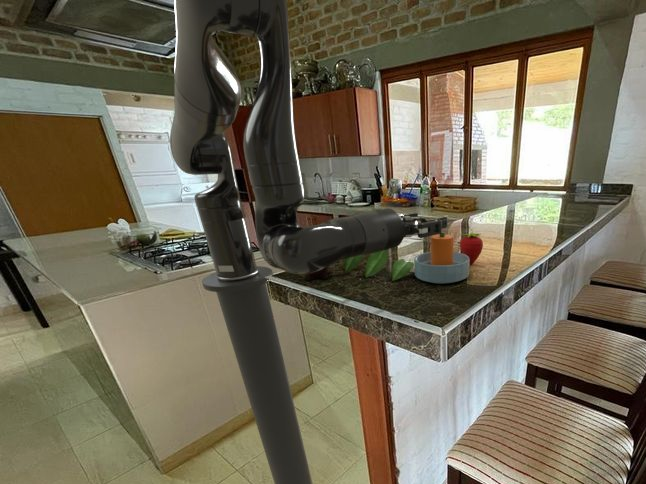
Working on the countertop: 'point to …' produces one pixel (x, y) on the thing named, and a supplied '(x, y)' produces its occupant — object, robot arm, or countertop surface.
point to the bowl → (441, 269)
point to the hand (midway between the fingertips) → (430, 219)
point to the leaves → (380, 264)
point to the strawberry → (471, 246)
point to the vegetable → (442, 249)
